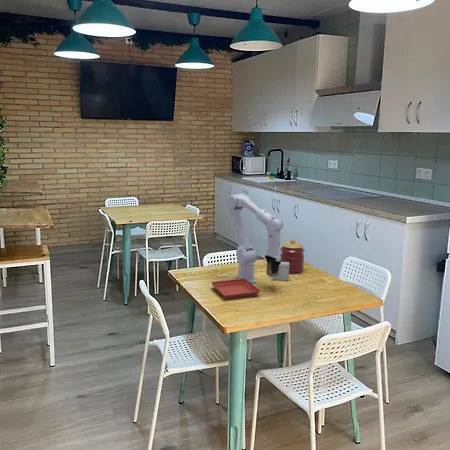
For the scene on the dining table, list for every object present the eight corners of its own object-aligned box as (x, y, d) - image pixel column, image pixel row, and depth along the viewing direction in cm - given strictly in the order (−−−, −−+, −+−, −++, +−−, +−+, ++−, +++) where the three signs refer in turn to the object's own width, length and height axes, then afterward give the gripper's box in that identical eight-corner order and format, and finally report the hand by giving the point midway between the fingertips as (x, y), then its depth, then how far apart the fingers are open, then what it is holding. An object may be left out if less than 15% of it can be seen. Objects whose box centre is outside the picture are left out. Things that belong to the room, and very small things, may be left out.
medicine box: (288, 278, 233) (289, 262, 231) (288, 280, 229) (289, 264, 227) (273, 277, 234) (273, 261, 232) (273, 280, 229) (273, 263, 228)
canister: (277, 272, 242) (278, 240, 238) (281, 265, 254) (283, 235, 250) (301, 275, 238) (303, 242, 235) (304, 268, 250) (306, 237, 247)
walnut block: (266, 273, 218) (267, 261, 216) (275, 273, 219) (275, 261, 217) (269, 276, 213) (270, 264, 212) (278, 276, 214) (279, 264, 213)
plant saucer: (260, 297, 207) (261, 290, 206) (224, 302, 200) (224, 294, 199) (244, 284, 223) (244, 278, 222) (210, 288, 216) (210, 282, 216)
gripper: (287, 247, 207) (286, 275, 210) (276, 240, 221) (275, 266, 223) (272, 248, 205) (271, 276, 208) (262, 240, 219) (261, 267, 222)
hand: (272, 271), depth 216 cm, fingers closed on walnut block, 4 cm apart
